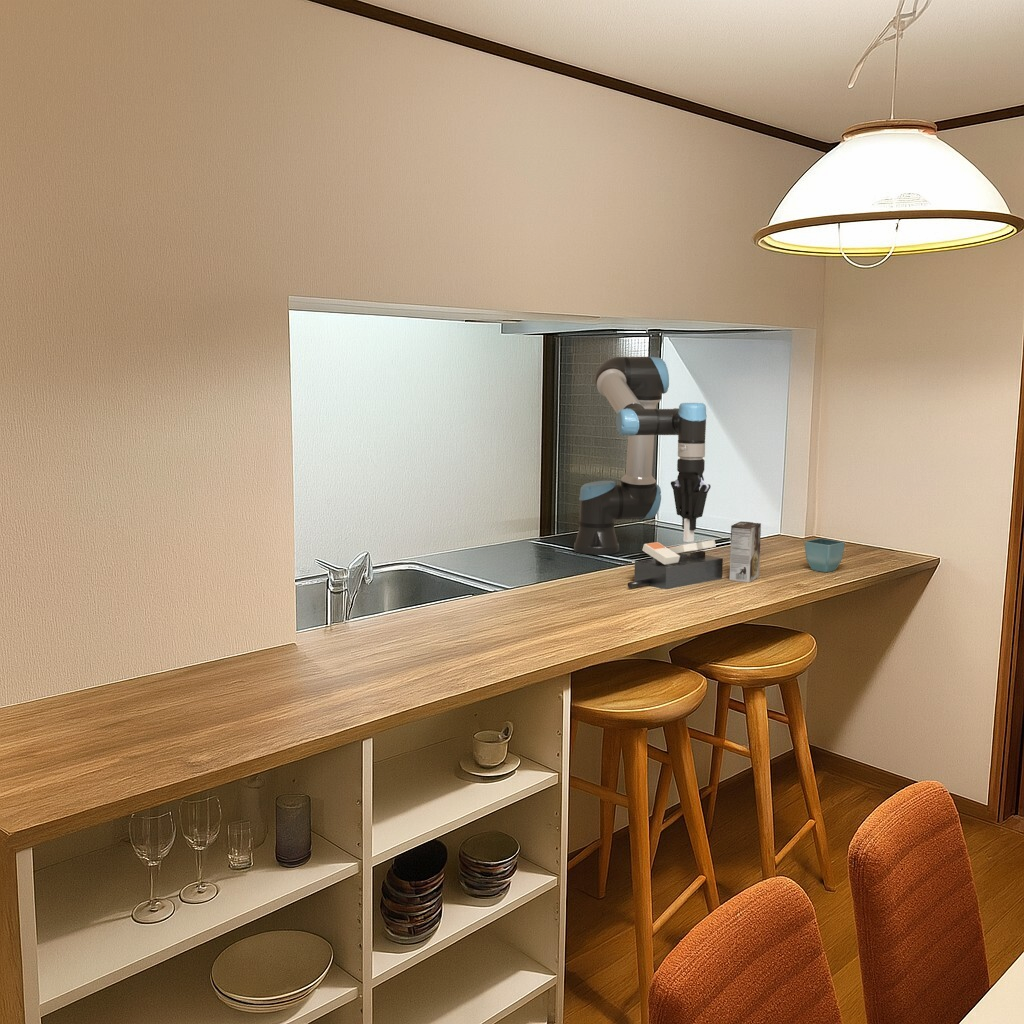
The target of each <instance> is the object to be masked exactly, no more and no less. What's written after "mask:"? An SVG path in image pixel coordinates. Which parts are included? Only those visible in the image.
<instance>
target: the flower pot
mask: <svg viewBox="0 0 1024 1024" xmlns="http://www.w3.org/2000/svg"><path fill="white" fill-rule="evenodd" d="M845 545H846V541H840V540H835V539H828V538H816V539H810V540H804V551H805V557H806V562H807V563H808V566H809V567H810V569H811V570H812V571H817V572H822V573H829V572H833V571H836V570H837V568H838V567H839V565H840V563H841V562H842V559H843V556H844V551H845Z"/></svg>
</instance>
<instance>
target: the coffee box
mask: <svg viewBox="0 0 1024 1024" xmlns="http://www.w3.org/2000/svg"><path fill="white" fill-rule="evenodd" d="M761 526H762V523H759V522H751V521H738V522H736V523H735V524H731V525H730V529H731V530H730V551H729V553H730V554H729V555H730V556H729V575H728V576H729V579H728V580H729V581H734V582H741V583H751V582H753V581H754V580H756V579H757V578H759V577H760V563H761V561H760V558H761V534H762V532H761V531H762V530H761V529H762V527H761Z"/></svg>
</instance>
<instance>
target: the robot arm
mask: <svg viewBox="0 0 1024 1024" xmlns="http://www.w3.org/2000/svg"><path fill="white" fill-rule="evenodd" d="M669 375H670V374H669V369H668V367H667V364H666V362H665V360H663V358H661V357H656V356H615V357H611V358H609V359H606V361H604V362H603V363H601V365H600V366H599V367H598V368H597V370H596V372H595V375H594V385H595V388H596V390H597V392H598V393H599V394H600V395H601V396H602V397H604V398H606V399H607V401H608V402H609V404H610V406H611V407H612V409H613V410H614V412H615V413H616V417H615V425H616V430H617V433H618V434H619V435H621V436H627V450H626V451H627V453H626V467H625V469H626V470H625V474H624V475H623V476H622V477H621V478H620V484H616V482H615V481H614V480H597V481H596V480H595V481H591V482H587V483H584V484H583V485H581V487H580V490H579V491H580V492H579V498H578V500H579V521H578V522H579V523H578V524H579V527H578V530H577V531H578V532H577V534H576V539H575V541H574V543H573V551H574V552H575V553H579V554H585V555H594V556H595V555H613V554H617V553H620V544H619V542H618V538H617V533H616V531H615V521H616V520H619V521H620V520H623V521H624V520H640V521H642V520H649V519H653V518H654V517H656V515H657V514H658V513H659V510H660V507H661V503H662V502H661V501H662V494H661V493H662V489H661V487H660V485H659V484H658V483H657V480H656V479H655V478H654V476H653V463H654V462H653V461H654V449H655V447H654V446H655V436H677V457H679V458H678V459H677V462H676V463H677V464H676V466H677V467H676V470H677V472H678V475H677V477H676V478H677V479H675V480H673V481H670V485H671V488H672V491H673V498H674V505H675V510H676V511H675V512H676V515H678V516H680V517H681V518H682V526H681V528H682V530H683V542H685V543H693V542H694V541H695V531H696V529H697V519H698V518H701V517H703V514H704V510H705V505H706V501H707V497H708V493H709V491H710V490H711V484H707V483H706V482H705V479H704V478H705V477H704V476H703V475H704V472H705V467H706V466H705V461H706V460H705V459H703V458H705V457H706V432H707V431H706V430H707V429H706V427H707V406H706V404H704V403H703V402H682V403H680V404H679V405H678V408H676V407H675V408H657V405H658V404H659V402H661V401H662V396H663V394H666V393H668V391H669V386H670V376H669Z"/></svg>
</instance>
